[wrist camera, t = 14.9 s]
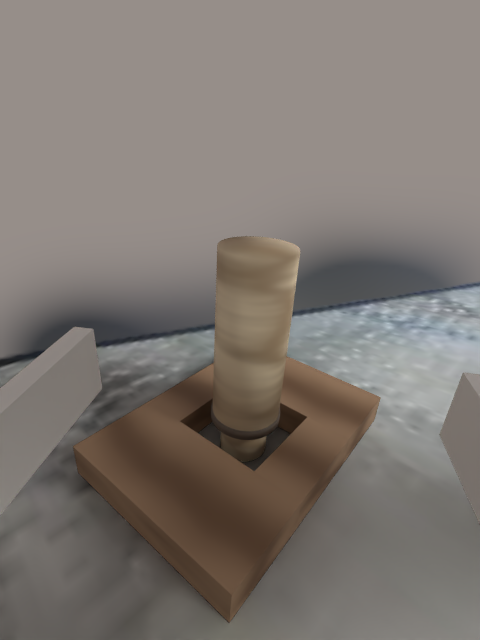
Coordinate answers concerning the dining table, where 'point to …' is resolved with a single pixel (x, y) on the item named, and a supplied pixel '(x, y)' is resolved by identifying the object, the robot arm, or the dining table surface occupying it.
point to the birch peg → (251, 339)
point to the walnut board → (224, 477)
